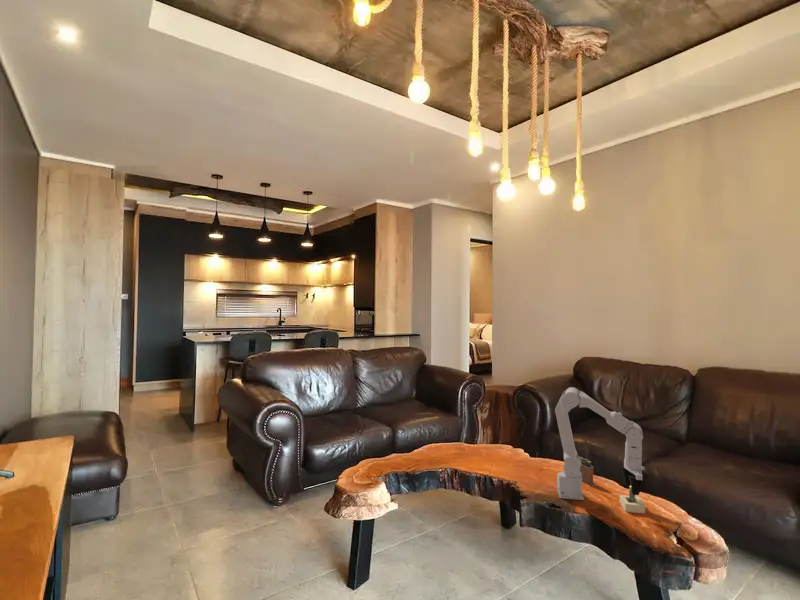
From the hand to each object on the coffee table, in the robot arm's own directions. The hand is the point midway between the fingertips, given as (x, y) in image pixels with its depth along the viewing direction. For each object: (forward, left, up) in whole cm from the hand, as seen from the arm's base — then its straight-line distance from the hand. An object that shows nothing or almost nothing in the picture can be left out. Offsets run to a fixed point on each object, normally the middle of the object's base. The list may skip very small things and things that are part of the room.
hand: (632, 489), depth 165 cm
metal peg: (0, 0, -7) cm, 7 cm away
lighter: (-13, +20, -8) cm, 25 cm away
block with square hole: (0, 0, -7) cm, 7 cm away
